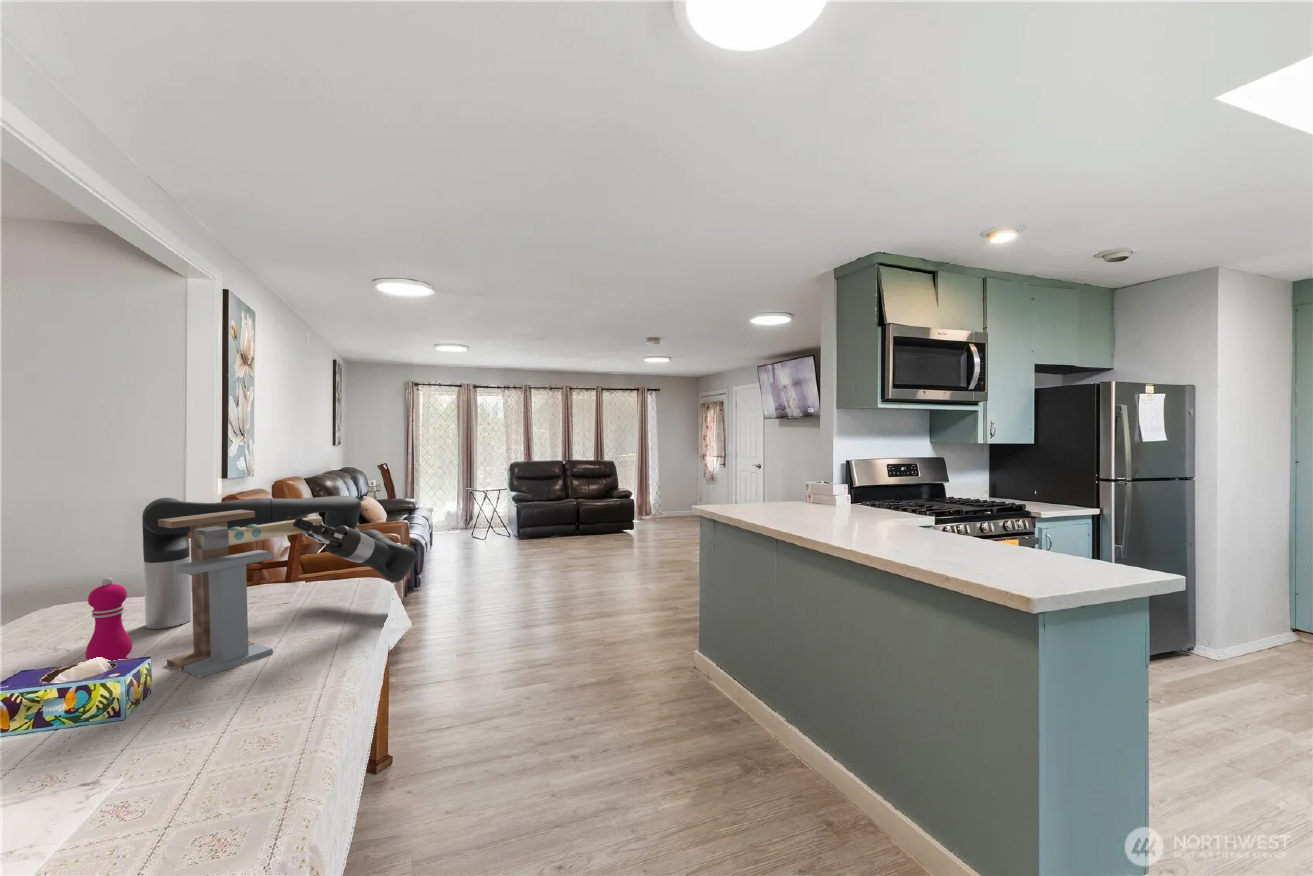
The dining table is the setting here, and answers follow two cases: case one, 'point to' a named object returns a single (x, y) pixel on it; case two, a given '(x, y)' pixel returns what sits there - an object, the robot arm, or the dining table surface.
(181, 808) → the dining table surface
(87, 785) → the dining table surface
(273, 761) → the dining table surface
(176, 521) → the tall stand
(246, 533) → the teal-dotted wooden beam
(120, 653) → the pepper mill
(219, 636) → the low stand
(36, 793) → the dining table surface
